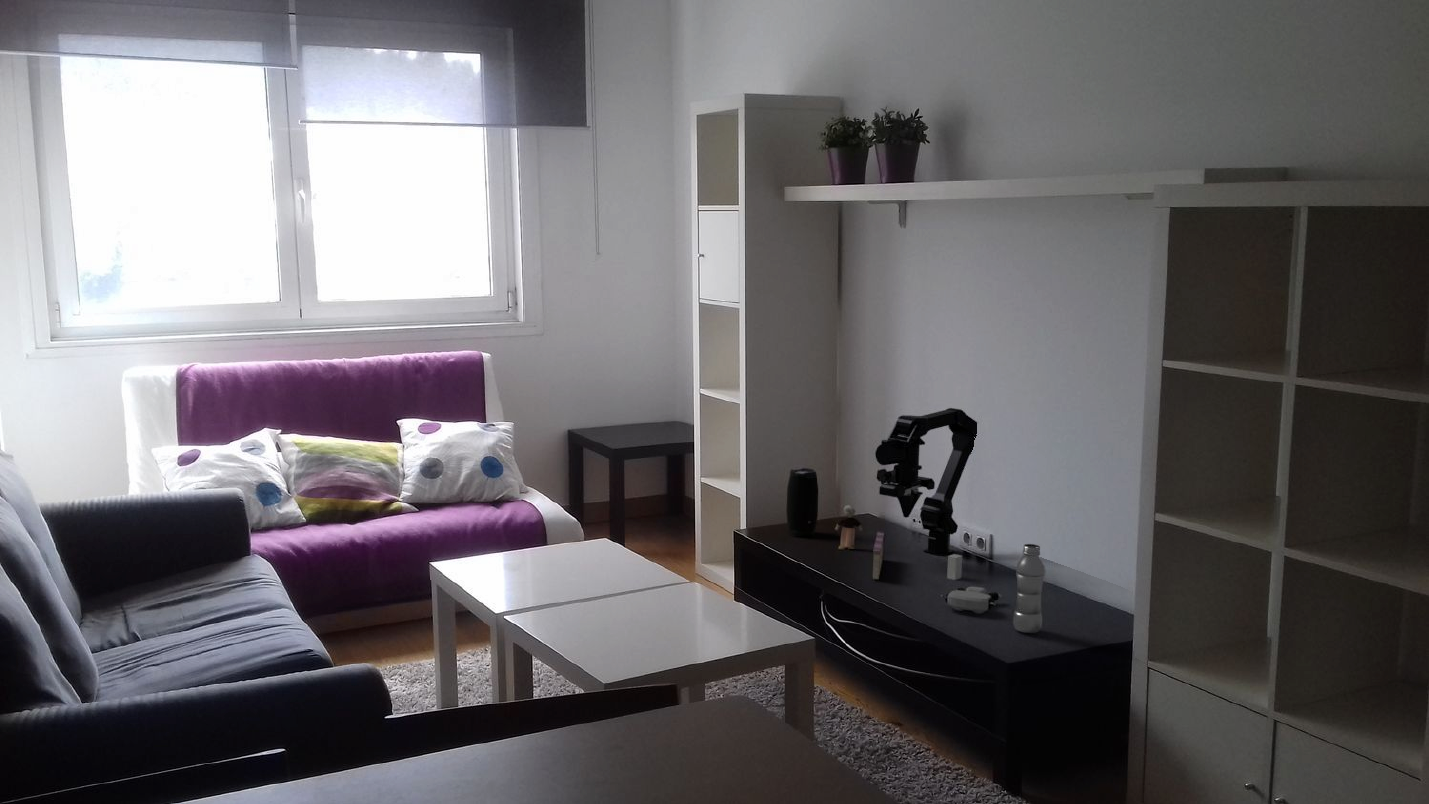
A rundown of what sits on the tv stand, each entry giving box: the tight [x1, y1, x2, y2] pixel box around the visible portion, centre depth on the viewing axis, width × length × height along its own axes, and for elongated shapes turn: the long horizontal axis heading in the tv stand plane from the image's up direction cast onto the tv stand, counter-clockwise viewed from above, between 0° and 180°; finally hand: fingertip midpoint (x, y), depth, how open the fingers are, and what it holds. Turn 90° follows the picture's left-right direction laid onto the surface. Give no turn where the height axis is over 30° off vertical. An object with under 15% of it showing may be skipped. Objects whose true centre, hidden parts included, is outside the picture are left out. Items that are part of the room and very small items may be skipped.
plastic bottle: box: [1012, 543, 1046, 634], centre depth 273 cm, size 6×7×20 cm
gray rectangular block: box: [946, 553, 963, 581], centre depth 317 cm, size 3×2×6 cm
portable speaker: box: [786, 467, 819, 538], centre depth 361 cm, size 9×9×20 cm
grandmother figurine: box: [834, 505, 863, 550], centre depth 346 cm, size 8×4×13 cm, turn 92°
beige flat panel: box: [872, 530, 886, 580], centre depth 324 cm, size 22×2×8 cm, turn 169°
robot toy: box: [940, 586, 1003, 615], centre depth 292 cm, size 12×4×15 cm
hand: (906, 517), depth 334 cm, fingers closed
